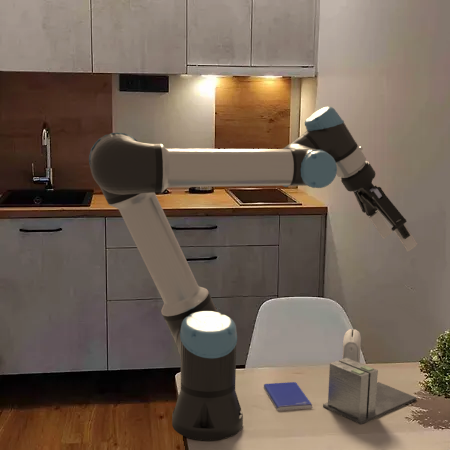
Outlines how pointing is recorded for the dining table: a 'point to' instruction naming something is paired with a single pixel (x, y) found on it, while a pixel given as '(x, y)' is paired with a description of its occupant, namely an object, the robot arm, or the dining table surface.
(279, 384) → the hard drive
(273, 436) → the dining table surface
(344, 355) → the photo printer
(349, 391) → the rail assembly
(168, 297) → the robot arm
